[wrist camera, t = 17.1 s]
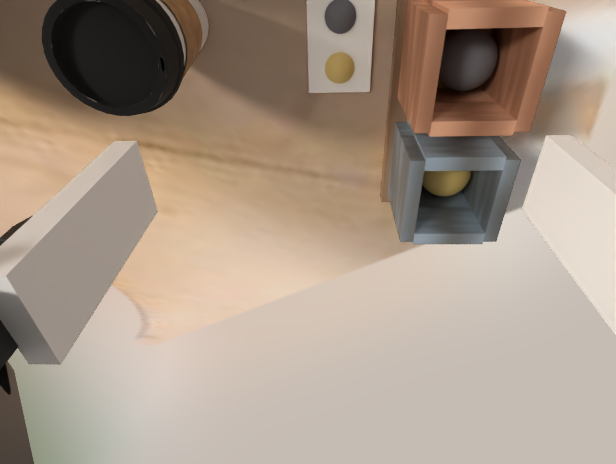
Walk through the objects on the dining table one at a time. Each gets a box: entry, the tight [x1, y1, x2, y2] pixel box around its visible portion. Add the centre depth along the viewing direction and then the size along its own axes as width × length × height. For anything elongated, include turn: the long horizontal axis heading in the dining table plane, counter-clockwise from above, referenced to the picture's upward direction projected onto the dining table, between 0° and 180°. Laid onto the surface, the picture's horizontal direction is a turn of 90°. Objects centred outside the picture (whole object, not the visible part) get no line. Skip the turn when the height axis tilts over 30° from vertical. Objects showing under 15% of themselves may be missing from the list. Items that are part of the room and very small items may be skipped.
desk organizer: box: [380, 0, 566, 244], centre depth 36 cm, size 10×21×10 cm, turn 2°
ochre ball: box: [422, 171, 472, 196], centre depth 40 cm, size 5×5×5 cm
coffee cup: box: [42, 0, 209, 116], centre depth 31 cm, size 8×8×15 cm
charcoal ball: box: [439, 29, 498, 91], centre depth 34 cm, size 5×5×5 cm
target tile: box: [306, 0, 375, 93], centre depth 37 cm, size 6×9×1 cm, turn 2°
